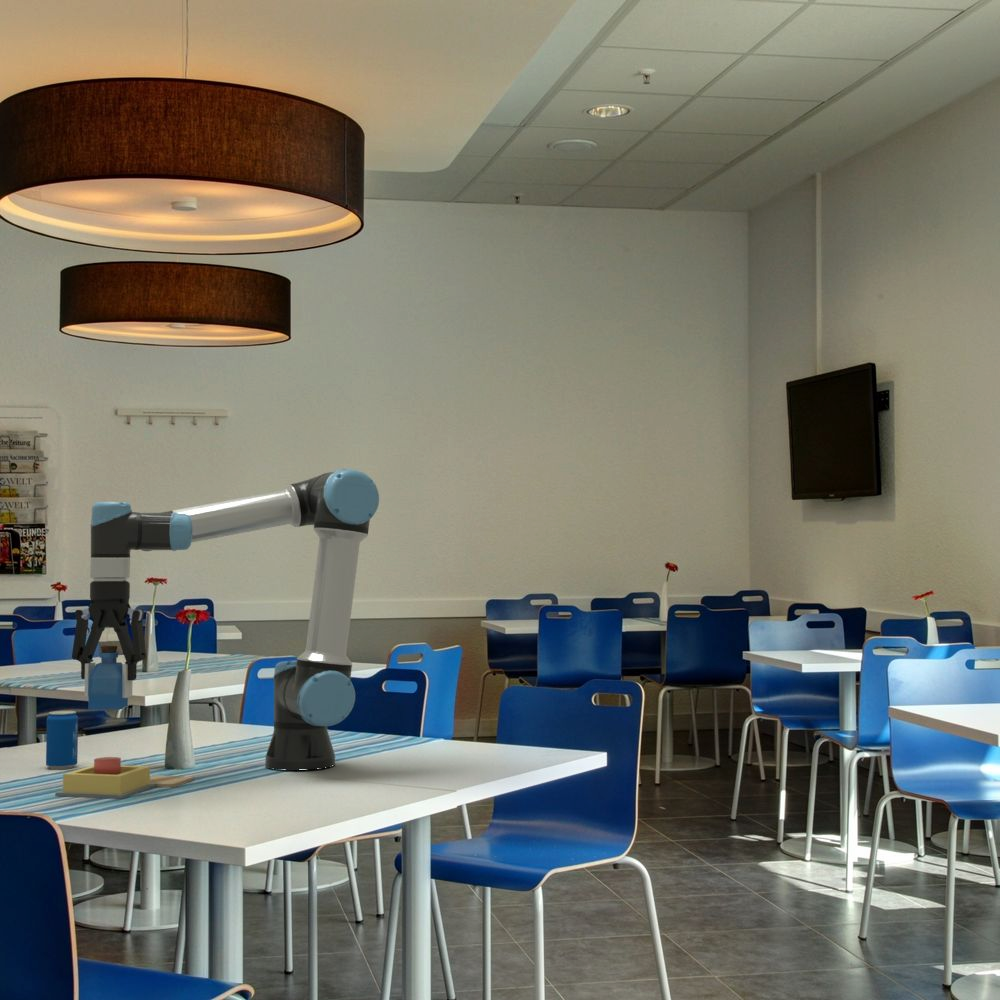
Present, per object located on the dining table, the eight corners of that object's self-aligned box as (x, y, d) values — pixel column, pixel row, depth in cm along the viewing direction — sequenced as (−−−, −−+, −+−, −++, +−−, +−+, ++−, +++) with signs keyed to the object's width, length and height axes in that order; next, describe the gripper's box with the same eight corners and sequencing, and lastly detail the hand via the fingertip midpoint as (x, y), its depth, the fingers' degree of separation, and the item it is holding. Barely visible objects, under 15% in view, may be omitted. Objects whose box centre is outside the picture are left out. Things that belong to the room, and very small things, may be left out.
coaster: (193, 779, 268) (193, 776, 268) (174, 787, 259) (174, 784, 259) (153, 778, 270) (153, 775, 270) (132, 785, 261) (132, 782, 261)
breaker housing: (156, 786, 260) (156, 765, 260) (122, 798, 247) (122, 777, 247) (92, 783, 263) (93, 763, 263) (55, 795, 250) (55, 774, 250)
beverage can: (67, 770, 280) (68, 714, 280) (40, 769, 281) (40, 713, 281) (82, 765, 286) (83, 710, 286) (56, 764, 287) (56, 710, 288)
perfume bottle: (120, 709, 253) (121, 647, 253) (88, 709, 252) (89, 647, 253) (127, 705, 259) (128, 645, 260) (95, 705, 259) (96, 645, 259)
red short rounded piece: (125, 772, 257) (125, 757, 257) (112, 776, 252) (112, 761, 252) (102, 771, 258) (102, 756, 258) (89, 776, 253) (89, 760, 253)
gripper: (166, 579, 258) (164, 696, 257) (73, 579, 263) (71, 693, 262) (148, 580, 251) (146, 699, 250) (53, 580, 255) (51, 697, 254)
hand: (108, 696), depth 256 cm, fingers closed on perfume bottle, 7 cm apart
